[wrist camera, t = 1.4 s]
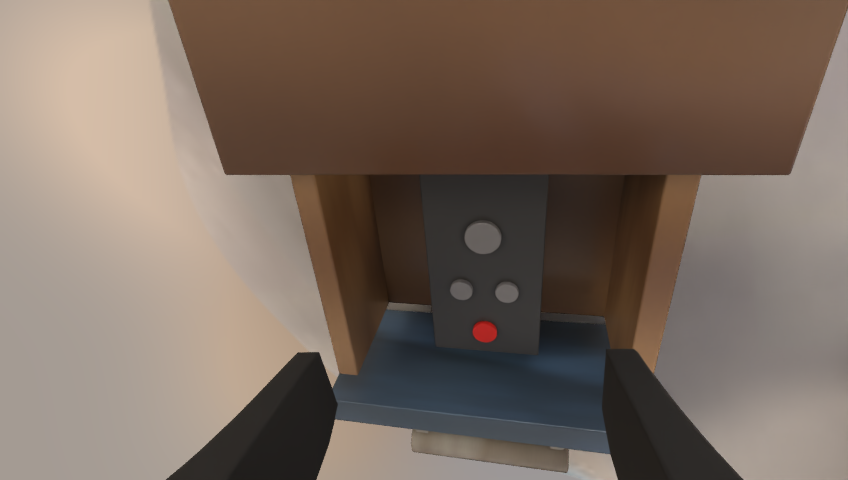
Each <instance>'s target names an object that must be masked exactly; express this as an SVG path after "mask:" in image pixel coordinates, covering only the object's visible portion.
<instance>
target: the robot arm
mask: <svg viewBox="0 0 848 480" xmlns="http://www.w3.org/2000/svg"><path fill="white" fill-rule="evenodd" d="M337 406H338V403H337V401H336V398H335V395H334V392H333V390H332V387H331V384H330V381H329V379H328V376H327V373H326V370H325V367H324V365H323V362H322V359H321V356H320V353H319V352H307V353H297V354H296V355H295V356H294V357H293V358H292V359H291V360H290V361H289V362H288V363H287V364H286V365H285V366H284V367H283V368H282V369H281V371H279V373H278V374H277V375H276V376H275V377H274V378H273V379H272V380H271V381H270V382H269V383H268V384H267V385H266V386H265V387H264V388H263V389H262V390H261V391H260V392H259V394H258V395H257V396H256V397H255V398H254V399H253V400H252V401H251V402H250V403H249V404H248V405H247V406H246V407H245V408H244V409H243V410H242V411H241V412H240V413H239V414H238V415H237V416H236V417H235V418H234V419H233V420H232V421H231V422H230V423H229V424H228V425H227V426H226V427H224V428H223V429H222V430H221V431H220V432H219V433H218V434H217V435H216V436H215V437H214V438H213V439H212V440H211V441H210V442H209V443H208V444H207V445H205V446H204V447H203V448H202V449H201V450H200V451H199V452H198V453H197V454H196V455H194V456H193V457H192V458H191V459H190V460H189V461H188V462H186V463H185V464H184V465H183V466H182V467H181V468H180V469H178V470H177V471H176V472H175V473H173V474H172V475H171V476H170V477H169V478H167V479H166V480H316V479H317V476H318V473H319V470H320V468H321V465H322V462H323V459H324V456H325V453H326V451H327V448H328V445H329V442H330V437H331V433H332V429H333V425H334V420H335V416H336V411H337ZM602 412H603V417H604V423H605V429H606V434H607V439H608V445H609V450H610V454H611V457H612V461H613V464H614V467H615V471H616V474H617V478H618V480H743V479H742V478H741V477H740V476H739V475H738V473H737V472H736V471H735V470H734V469H733V468H732V467H731V466H730V465H729V464H728V463H727V462H726V461H725V460H724V458H723V457H722V456H721V455H720V454H719V453H718V452H717V451H716V450H715V449H714V448H713V446H712V445H711V444H710V443H709V442H708V441H707V440H706V438H705V437H704V436H703V435H702V434H701V433H700V431H699V430H698V429H697V428H696V427H695V426H694V424H693V423H692V422H691V421H690V420H689V418H688V417H687V416H686V415H685V414H684V412H683V411H682V410H681V409H680V408H679V406H678V405H677V404H676V403H675V401H674V400H673V399H672V398H671V396H670V395H669V394H668V392H667V391H666V390H665V389H664V387H663V386H662V385H661V383H660V382H659V381H658V379H657V378H656V377H655V375H654V374H653V373H652V371H651V370H650V368H649V367H648V366H647V364H646V363H645V361H644V360H643V359H642V357H641V356H640V354H639V353H638V352H637V351H636V350H635V349H606V357H605V370H604V384H603V397H602Z"/></svg>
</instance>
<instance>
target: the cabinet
mask: <svg viewBox="0 0 848 480" xmlns="http://www.w3.org/2000/svg"><path fill="white" fill-rule="evenodd" d="M168 1H169V4H170V7H171V10H172V13H173V16H174V19H175V22H176V25H177V28H178V31H179V34H180V38H181V41H182V44H183V47H184V50H185V53H186V56H187V59H188V62H189V65H190V68H191V71H192V74H193V77H194V81H195V84H196V87H197V90H198V93H199V96H200V99H201V102H202V105H203V108H204V111H205V114H206V117H207V120H208V123H209V127H210V130H211V133H212V136H213V139H214V142H215V145H216V148H217V151H218V154H219V157H220V160H221V163H222V166H223V170H224V173H225V174H226V175H789V174H790V173H791V171H792V168H793V165H794V162H795V159H796V156H797V154H798V151H799V148H800V145H801V142H802V139H803V136H804V133H805V130H806V127H807V124H808V122H809V119H810V116H811V113H812V110H813V107H814V104H815V101H816V98H817V95H818V93H819V90H820V87H821V84H822V81H823V78H824V75H825V72H826V69H827V66H828V63H829V61H830V58H831V55H832V52H833V49H834V46H835V43H836V40H837V37H838V34H839V32H840V29H841V26H842V23H843V20H844V17H845V14H846V11H847V8H848V0H168Z"/></svg>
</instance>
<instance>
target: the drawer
mask: <svg viewBox="0 0 848 480" xmlns="http://www.w3.org/2000/svg"><path fill="white" fill-rule="evenodd" d="M290 176H291V180H292V184H293V189H294V193H295V197H296V201H297V205H298V209H299V213H300V217H301V221H302V225H303V229H304V233H305V237H306V241H307V245H308V249H309V253H310V257H311V261H312V265H313V269H314V273H315V277H316V281H317V285H318V289H319V293H320V297H321V301H322V305H323V309H324V313H325V317H326V321H327V325H328V329H329V333H330V337H331V341H332V345H333V349H334V353H335V357H336V361H337V365H338V369H339V373H340V374H339V376H338V378H337V380H336V382H335V384H334V386H333V388H332V390H333V392H334V395H335V398H336V401H337V403H338V406H337V411H336V416H335V419H337V420H344V421H353V422H360V423H368V424H377V425H384V426H392V427H401V428H408V429H413V431H412V439H411V446H412V451H413V452H419V453H426V454H433V455H440V456H447V457H455V458H462V459H469V460H476V461H483V462H491V463H498V464H506V465H513V466H520V467H527V468H534V469H541V470H549V471H556V472H563V473H567V472H568V466H569V449H574V450H582V451H590V452H597V453H605V454H610V450H609V445H608V439H607V434H606V429H605V423H604V417H603V412H602V397H603V384H604V370H605V357H606V349H635V350H636V351H637V352H638V353H639V354H640V356H641V357H642V359H643V360H644V361H645V363H646V364H647V366H648V367H649V368H650V370H651V371H652V373H653V374H654V370H655V366H656V362H657V358H658V354H659V350H660V345H661V341H662V337H663V333H664V329H665V324H666V320H667V316H668V312H669V308H670V303H671V299H672V295H673V291H674V287H675V283H676V278H677V274H678V270H679V266H680V262H681V257H682V253H683V249H684V245H685V241H686V236H687V232H688V228H689V224H690V220H691V215H692V211H693V207H694V203H695V199H696V195H697V190H698V186H699V182H700V178H701V175H549V183H548V200H547V217H546V235H545V252H544V269H543V286H542V303H541V312H547V313H562V314H578V315H593V316H604V318H605V323H606V325H604V324H590V323H575V322H560V321H546V320H540V338H539V354H538V355H528V354H516V353H504V352H493V351H481V350H469V349H457V348H445V347H436V346H435V336H434V326H433V315H432V313H428V312H413V311H399V310H386V309H387V306H388V304H389V302H391V303H407V304H422V305H431V295H430V284H429V274H428V263H427V253H426V242H425V232H424V222H423V211H422V201H421V190H420V180H419V175H290Z"/></svg>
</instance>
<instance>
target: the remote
mask: <svg viewBox="0 0 848 480" xmlns="http://www.w3.org/2000/svg"><path fill="white" fill-rule="evenodd" d="M419 180H420V190H421V201H422V211H423V222H424V232H425V242H426V253H427V263H428V274H429V284H430V295H431V305H432V315H433V326H434V336H435V346H436V347H445V348H457V349H469V350H481V351H493V352H504V353H516V354H528V355H538V354H539V338H540V320H541V303H542V286H543V269H544V252H545V235H546V217H547V200H548V183H549V175H419Z"/></svg>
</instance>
